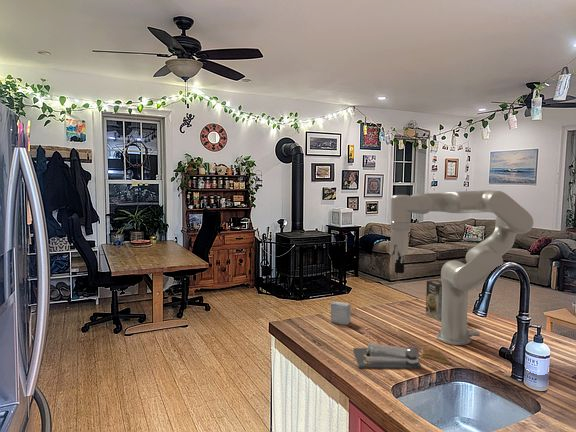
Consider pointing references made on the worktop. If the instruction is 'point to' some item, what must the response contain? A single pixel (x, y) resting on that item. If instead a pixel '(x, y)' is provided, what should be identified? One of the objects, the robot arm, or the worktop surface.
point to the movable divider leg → (393, 350)
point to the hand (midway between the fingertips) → (399, 272)
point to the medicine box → (340, 313)
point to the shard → (434, 355)
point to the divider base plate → (378, 365)
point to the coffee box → (434, 298)
